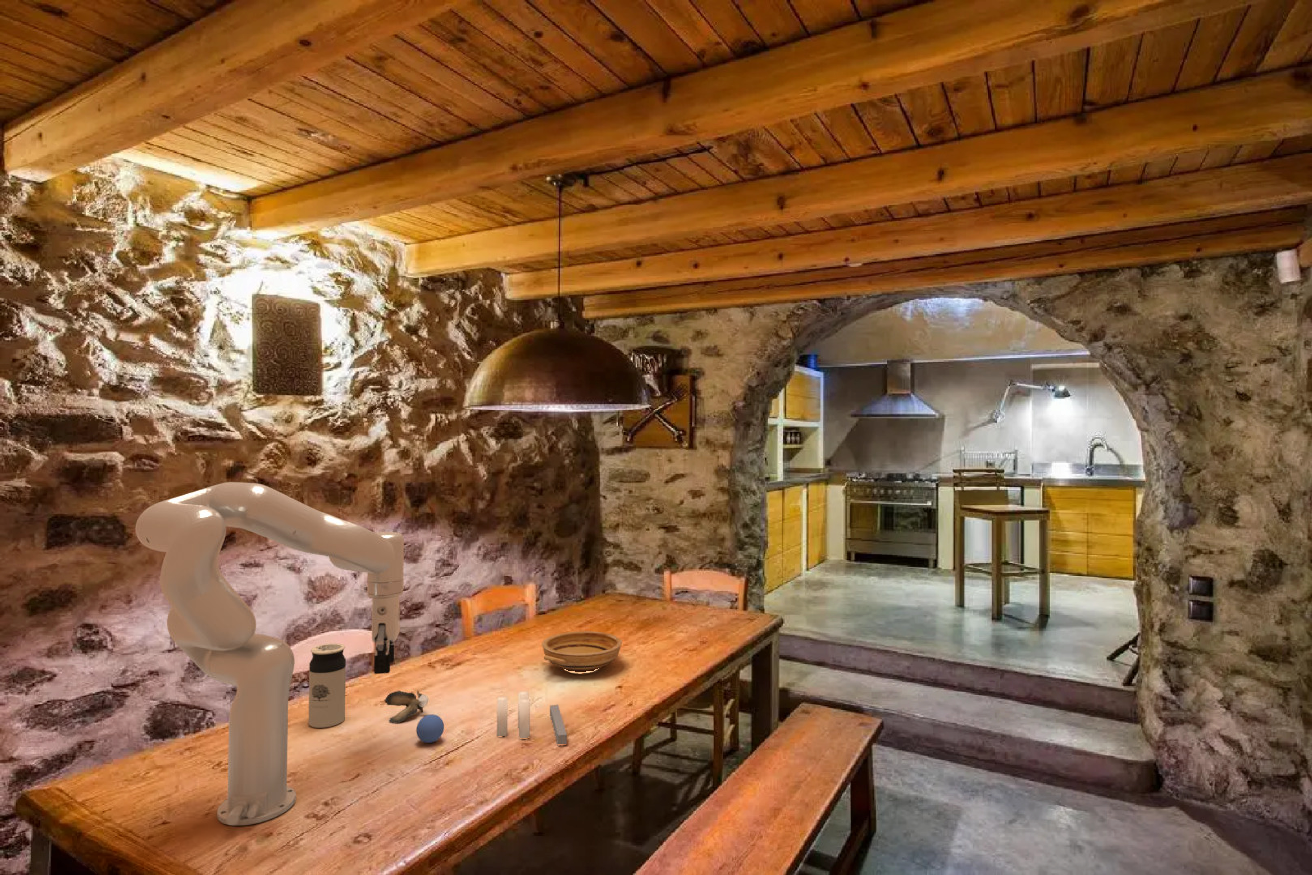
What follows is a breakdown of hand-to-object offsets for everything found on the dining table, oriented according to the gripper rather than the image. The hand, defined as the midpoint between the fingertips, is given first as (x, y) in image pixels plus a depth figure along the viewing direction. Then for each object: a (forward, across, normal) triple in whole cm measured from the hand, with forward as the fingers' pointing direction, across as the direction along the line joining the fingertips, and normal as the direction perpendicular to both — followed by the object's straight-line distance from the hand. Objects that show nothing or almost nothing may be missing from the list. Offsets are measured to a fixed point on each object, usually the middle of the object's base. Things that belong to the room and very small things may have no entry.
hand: (384, 667), depth 152 cm
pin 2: (+18, -3, -31) cm, 36 cm away
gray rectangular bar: (+18, 0, -39) cm, 43 cm away
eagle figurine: (+18, +16, -3) cm, 25 cm away
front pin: (+18, 0, -26) cm, 31 cm away
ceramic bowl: (+18, +43, -51) cm, 69 cm away
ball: (+15, 0, -10) cm, 18 cm away
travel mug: (+18, +17, +15) cm, 29 cm away
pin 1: (+18, +2, -31) cm, 36 cm away
